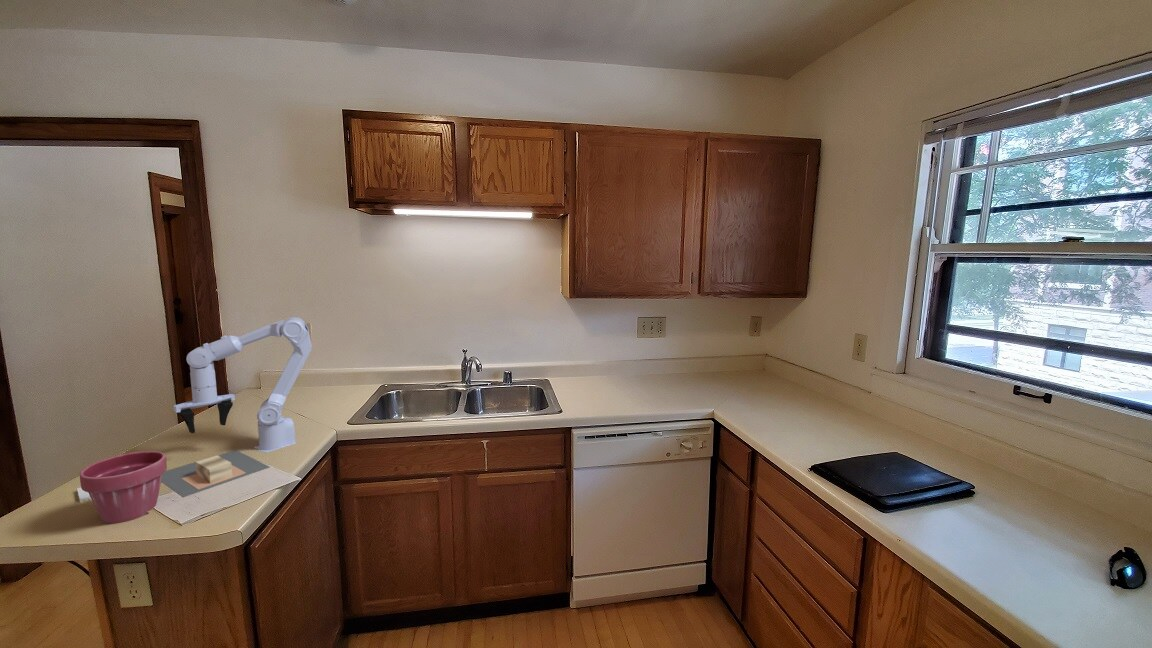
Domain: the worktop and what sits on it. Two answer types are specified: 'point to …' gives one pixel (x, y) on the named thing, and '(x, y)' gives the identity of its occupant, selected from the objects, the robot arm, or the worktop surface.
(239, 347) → the robot arm
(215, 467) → the card box
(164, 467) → the plant pot
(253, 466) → the mat
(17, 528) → the worktop surface
